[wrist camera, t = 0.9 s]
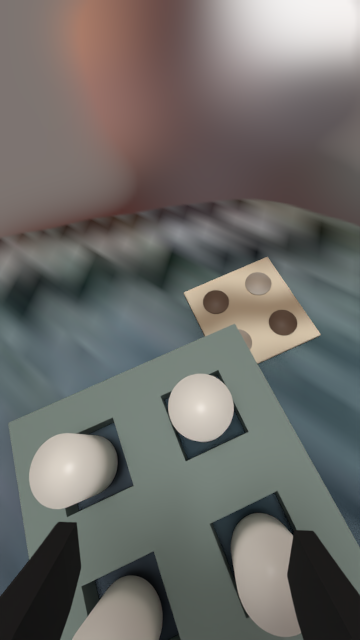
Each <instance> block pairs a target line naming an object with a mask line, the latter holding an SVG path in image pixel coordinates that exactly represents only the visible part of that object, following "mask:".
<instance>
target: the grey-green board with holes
mask: <svg viewBox="0 0 360 640" xmlns="http://www.w3.org/2000/svg"><path fill="white" fill-rule="evenodd" d="M193 374H208V375H211V376H214V377H216V376H218V377H219V379H220V381H222V382H223V383H224V384H225V385H226V387H227V388H228V390H229V391H230V393H231V396H232V399H233V404H234V410H235V412H236V414H237V416H238V418H239V420H240V422H241V424H242V426H243V428H244V430H245V432H246V433H245V434H243V435H240V436H238V437H236V438H234V439H232V440H230V441H228V442H225V443H223V444H221V445H219V446H217V447H215V448H213V449H211V450H208V451H206V452H204V453H202V454H200V455H198V456H196V457H193V458H191V459H189V460H188V459H187V457H186V454H185V451H184V449H183V446H182V444H181V441H180V439H179V436H178V433H177V431H176V428H175V427H174V425H173V424H172V422H171V420H170V416H169V412H168V408H167V405H166V403H165V399H167V398H169V397H170V395H171V392H172V390H173V389H174V387H175V386H176V385H177V383H178V382H180V381H181V380H182V379H184V378H185V377H187V376H190V375H193ZM111 423H115V426H116V429H117V433H118V436H119V439H120V442H121V446H122V449H123V452H124V456H125V459H126V462H127V465H128V469H129V472H130V475H131V478H132V482H133V485H134V486H132V487H129V488H127V489H125V490H123V491H121V492H119V493H117V494H115V495H112V496H110V497H108V498H106V499H104V500H102V501H100V502H98V503H95V504H93V505H91V506H89V507H87V508H85V509H83V510H80V511H79V509H78V504H77V503H76V504H74V505H71V506H69V507H66V508H63V509H51V508H47V507H45V506H43V505H42V504H40V503H39V502H38V501H37V499H36V498H35V497H34V495H33V493H32V491H31V488H30V482H29V472H30V466H31V463H32V460H33V458H34V456H35V454H36V452H37V451H38V449H39V448H40V447H41V446H42V444H43V443H45V442H46V441H47V440H48V439H50V438H51V437H53V436H55V435H58V434H62V433H74V434H86V435H87V434H89V433H91V432H94V431H96V430H98V429H100V428H102V427H105V426H107V425H109V424H111ZM8 425H9V431H10V438H11V444H12V451H13V457H14V464H15V470H16V477H17V483H18V490H19V496H20V503H21V509H22V516H23V522H24V529H25V535H26V542H27V548H28V555H29V560H30V558H31V557H32V556H33V554H34V553H35V552H36V550H37V549H38V548H39V546H40V545H41V544H42V542H43V541H44V540H45V538H46V537H47V536H48V534H49V533H50V531H51V530H52V529H53V527H54V526H55V525H56V524H57V523H58V522H77V529H78V539H79V549H80V558H81V571H80V575H79V579H78V583H77V587H76V591H75V595H74V599H73V603H72V606H71V610H70V613H69V616H68V619H67V622H66V625H65V628H64V630H63V633H62V636H61V639H60V640H72V638H73V637H74V635H75V633H76V632H77V631H78V629H79V628H80V626H81V625H82V624H83V622H84V621H85V620H86V618H87V617H88V615H89V614H90V613H91V611H92V610H93V609H94V607H95V606H96V604H97V603H98V602H99V597H98V593H97V588H96V584H95V580H96V579H98V578H100V577H102V576H104V575H106V574H108V573H110V572H112V571H114V570H116V569H118V568H120V567H122V566H124V565H127V564H129V563H131V562H133V561H135V560H137V559H139V558H141V557H143V556H145V555H147V554H149V553H151V552H153V551H154V554H155V557H156V560H157V564H158V567H159V570H160V573H161V577H162V580H163V583H164V587H165V590H166V593H167V596H168V600H169V603H170V606H171V609H172V613H173V616H174V619H175V623H176V626H177V629H178V632H179V635H177V636H175V637H173V638H171V639H169V640H303V637H302V634H301V633H300V634H298V635H296V636H291V637H279V636H275V635H272V634H270V633H268V632H266V631H264V630H263V629H261V628H260V627H259V626H258V625H257V624H256V623H255V622H254V621H253V620H252V619H251V618H250V616H249V615H248V614H247V612H246V610H245V609H244V607H243V605H242V602H241V600H240V597H239V594H238V590H237V585H236V582H235V580H234V577H233V575H232V572H231V569H230V567H229V564H228V562H227V559H226V557H225V554H224V552H223V549H222V546H221V544H220V541H219V539H218V536H217V534H216V531H215V528H214V526H213V522H215V521H217V520H219V519H221V518H223V517H225V516H227V515H229V514H231V513H233V512H235V511H237V510H239V509H241V508H243V507H245V506H247V505H250V504H252V503H254V502H256V501H258V500H260V499H262V498H264V497H266V496H268V495H270V494H272V493H274V492H275V494H276V496H277V498H278V500H279V502H280V504H281V506H282V508H283V510H284V512H285V514H286V517H287V519H288V521H289V523H290V525H291V527H292V529H293V531H294V530H309V531H314V532H315V533H316V535H317V536H318V538H319V539H320V540H321V542H322V543H323V545H324V546H325V548H326V549H327V550H328V552H329V553H330V555H331V556H332V557H333V559H334V560H335V562H336V563H337V564H338V566H339V567H340V569H341V570H342V571H343V573H344V574H345V575H346V577H347V578H348V580H349V581H350V582H351V584H352V585H353V586H354V588H355V589H356V590H357V592H358V593H359V594H360V547H359V546H358V544H357V542H356V540H355V538H354V537H353V535H352V533H351V531H350V529H349V528H348V526H347V524H346V522H345V520H344V519H343V517H342V515H341V513H340V511H339V510H338V508H337V506H336V504H335V502H334V501H333V499H332V497H331V495H330V493H329V492H328V490H327V488H326V486H325V485H324V483H323V481H322V479H321V477H320V476H319V474H318V472H317V470H316V468H315V467H314V465H313V463H312V461H311V459H310V458H309V456H308V454H307V452H306V450H305V449H304V447H303V445H302V443H301V441H300V440H299V438H298V436H297V434H296V432H295V431H294V429H293V427H292V425H291V423H290V422H289V420H288V418H287V416H286V414H285V413H284V411H283V409H282V407H281V405H280V404H279V402H278V400H277V398H276V396H275V395H274V393H273V391H272V389H271V388H270V386H269V384H268V382H267V380H266V379H265V377H264V375H263V373H262V371H261V370H260V368H259V366H258V364H257V362H256V361H255V359H254V357H253V355H252V353H251V352H250V350H249V348H248V346H247V344H246V343H245V341H244V339H243V337H242V335H241V334H240V332H239V330H238V328H237V326H236V325H235V324H233V325H230V326H228V327H226V328H223V329H221V330H219V331H217V332H214V333H212V334H210V335H207V336H205V337H203V338H201V339H198V340H196V341H194V342H192V343H189V344H187V345H185V346H182V347H180V348H178V349H176V350H173V351H171V352H169V353H167V354H164V355H162V356H160V357H157V358H155V359H153V360H151V361H148V362H146V363H144V364H142V365H139V366H137V367H135V368H132V369H130V370H128V371H126V372H123V373H121V374H119V375H116V376H114V377H112V378H110V379H107V380H105V381H103V382H101V383H98V384H96V385H94V386H91V387H89V388H87V389H85V390H82V391H80V392H78V393H76V394H73V395H71V396H69V397H66V398H64V399H62V400H60V401H57V402H55V403H53V404H50V405H48V406H46V407H44V408H41V409H39V410H37V411H35V412H32V413H30V414H28V415H25V416H23V417H21V418H19V419H16V420H14V421H12V422H10V423H8Z"/></svg>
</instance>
